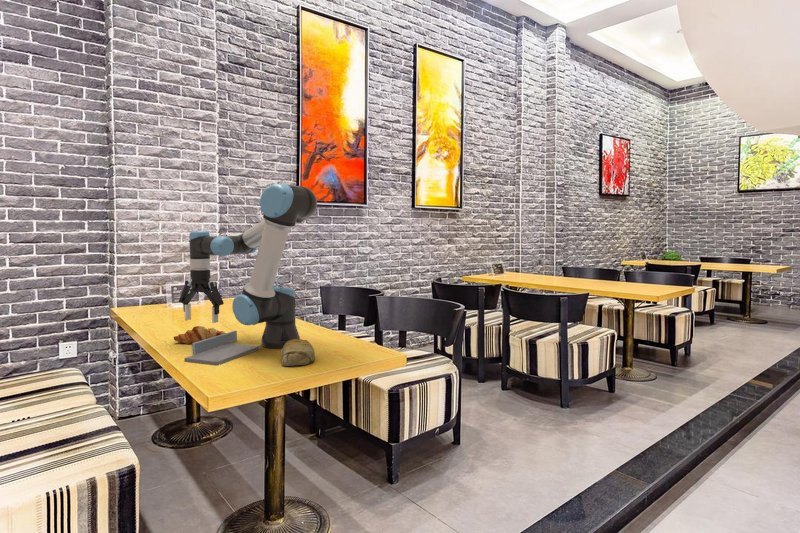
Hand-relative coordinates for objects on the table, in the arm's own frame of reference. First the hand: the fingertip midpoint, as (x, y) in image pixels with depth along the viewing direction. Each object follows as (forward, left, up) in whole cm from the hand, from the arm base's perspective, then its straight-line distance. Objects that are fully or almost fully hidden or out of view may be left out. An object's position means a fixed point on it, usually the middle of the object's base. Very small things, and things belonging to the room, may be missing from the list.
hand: (201, 321), depth 201 cm
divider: (-11, +5, -9) cm, 15 cm away
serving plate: (-22, +14, -9) cm, 27 cm away
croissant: (0, 0, -9) cm, 9 cm away
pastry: (-52, +13, -9) cm, 54 cm away
